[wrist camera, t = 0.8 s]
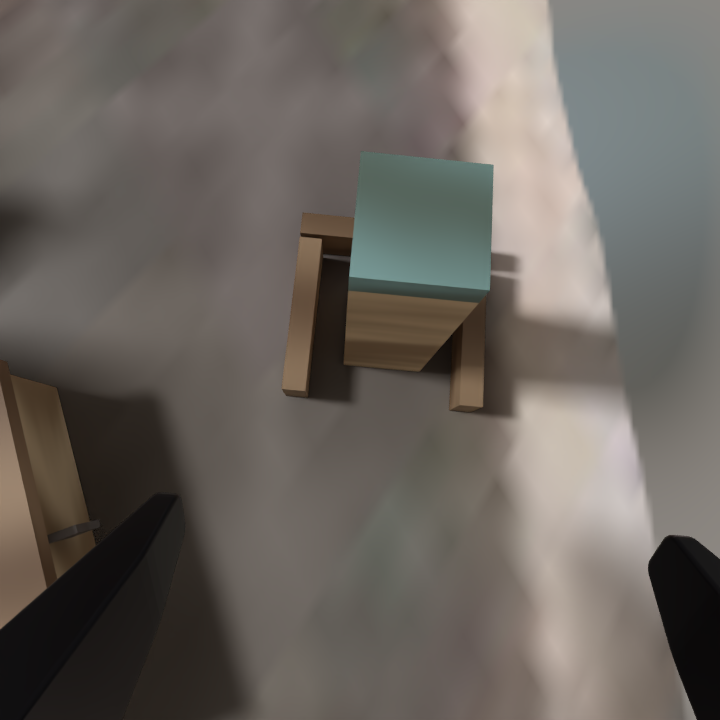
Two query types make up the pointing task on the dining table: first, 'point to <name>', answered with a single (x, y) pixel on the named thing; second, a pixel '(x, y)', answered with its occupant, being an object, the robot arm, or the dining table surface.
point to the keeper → (314, 242)
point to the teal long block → (415, 257)
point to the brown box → (36, 494)
